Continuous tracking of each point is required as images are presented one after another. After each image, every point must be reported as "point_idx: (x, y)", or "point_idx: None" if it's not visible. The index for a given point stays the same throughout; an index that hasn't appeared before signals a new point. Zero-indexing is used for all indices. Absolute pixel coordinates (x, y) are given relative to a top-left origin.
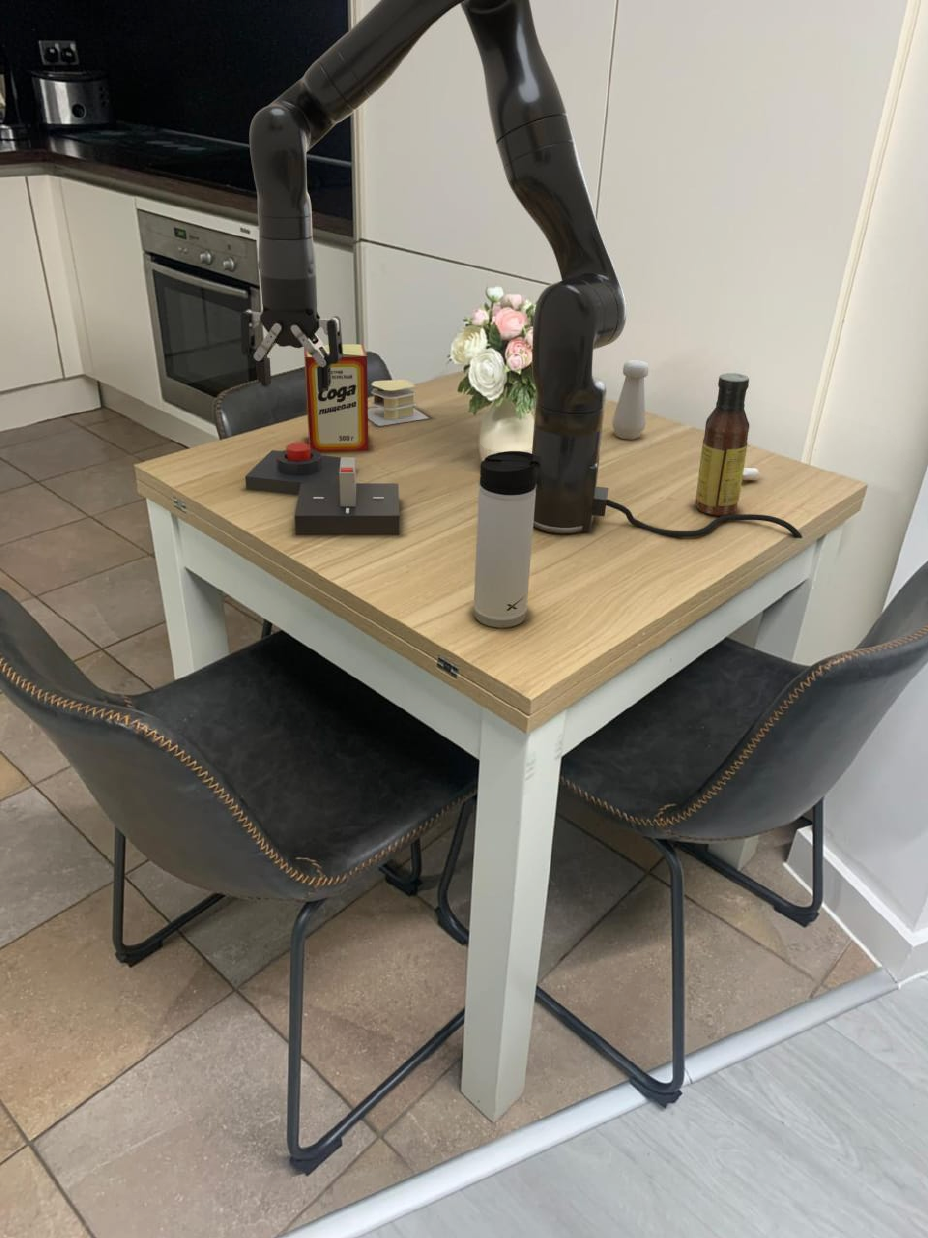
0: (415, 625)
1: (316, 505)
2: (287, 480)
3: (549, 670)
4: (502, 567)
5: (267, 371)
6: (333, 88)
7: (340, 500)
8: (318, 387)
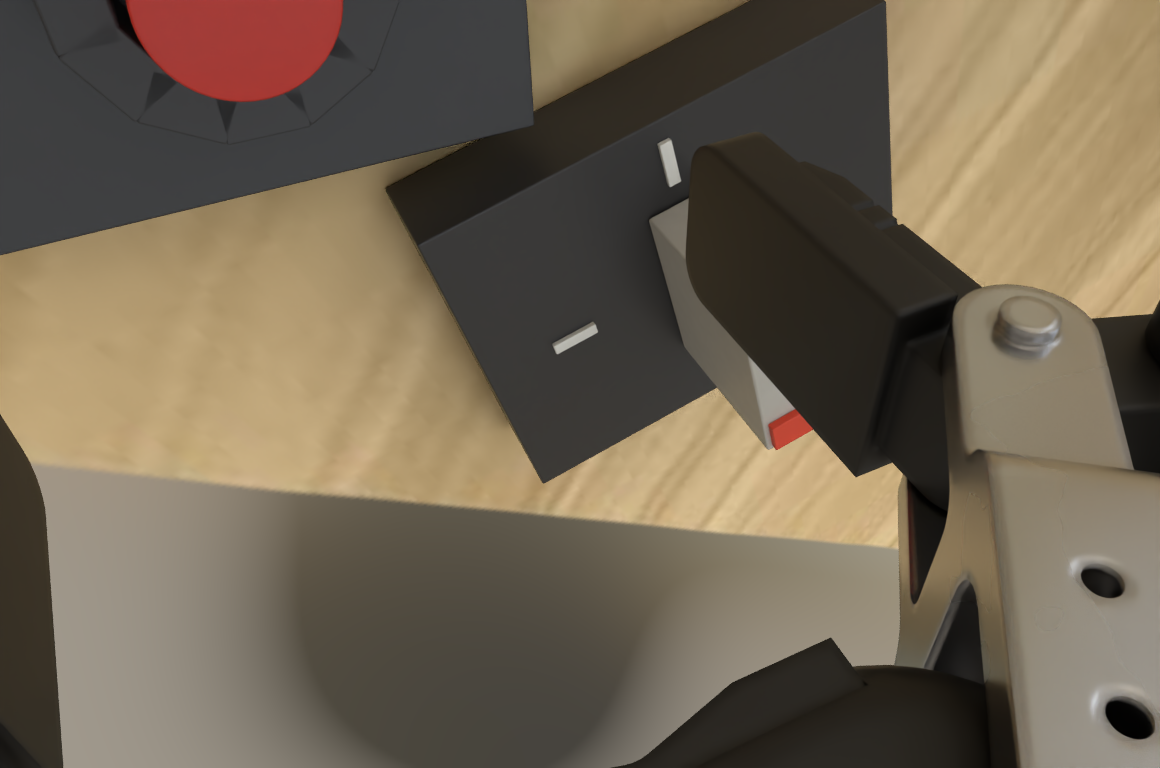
0: (892, 540)
1: (589, 386)
2: (279, 185)
3: None
4: None
5: (5, 567)
6: None
7: (698, 363)
8: (719, 314)
